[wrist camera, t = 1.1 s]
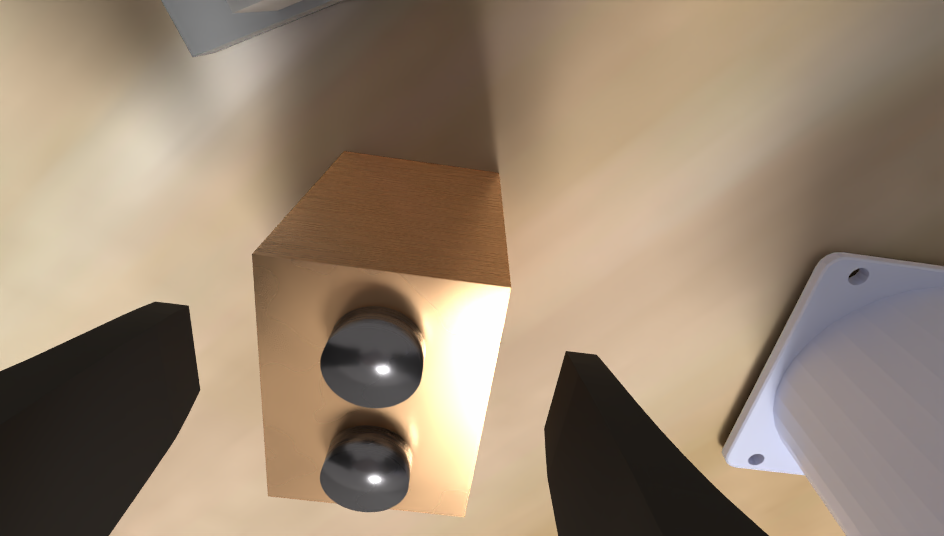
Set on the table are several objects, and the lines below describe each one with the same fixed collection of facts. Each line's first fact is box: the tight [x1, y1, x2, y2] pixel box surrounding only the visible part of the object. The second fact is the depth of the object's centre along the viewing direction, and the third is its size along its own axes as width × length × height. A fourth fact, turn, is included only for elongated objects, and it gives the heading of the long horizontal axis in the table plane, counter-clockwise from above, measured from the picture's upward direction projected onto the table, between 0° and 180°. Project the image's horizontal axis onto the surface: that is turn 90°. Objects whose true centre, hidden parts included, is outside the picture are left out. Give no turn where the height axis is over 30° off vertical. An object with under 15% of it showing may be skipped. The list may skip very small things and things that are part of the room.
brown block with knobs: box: [252, 151, 511, 517], centre depth 12 cm, size 4×6×7 cm
